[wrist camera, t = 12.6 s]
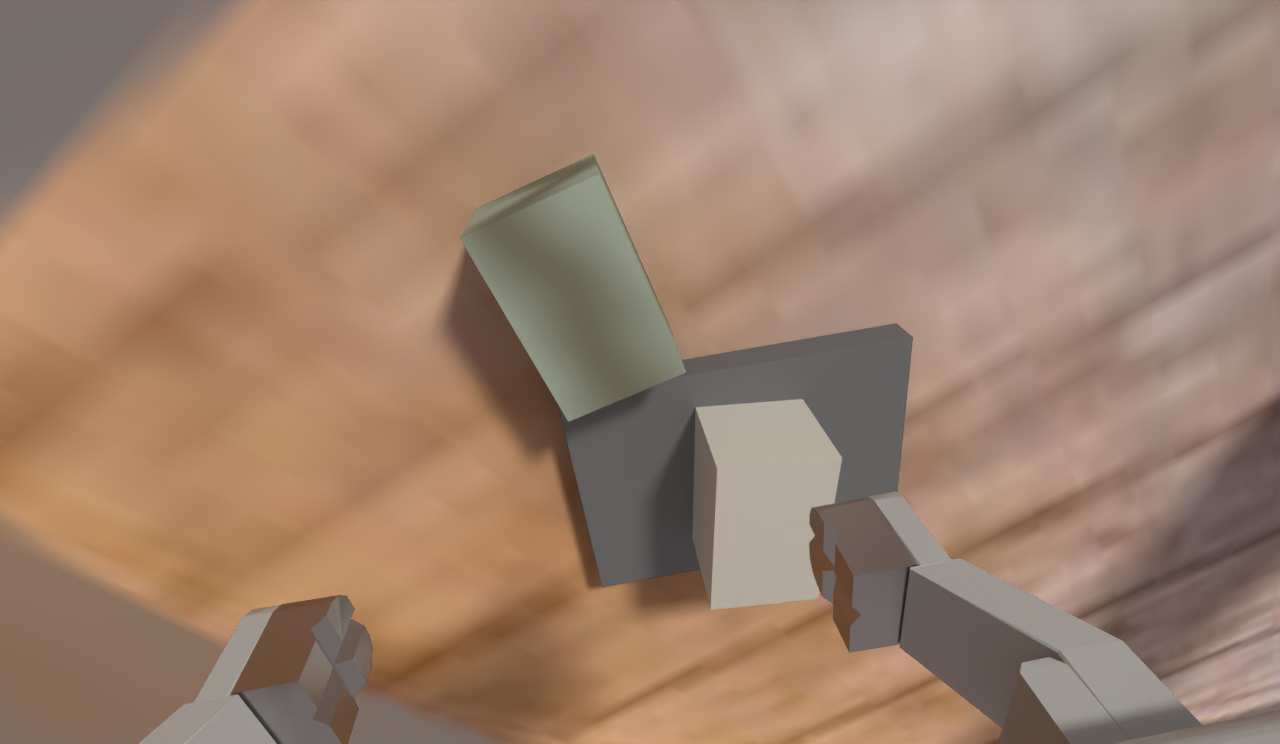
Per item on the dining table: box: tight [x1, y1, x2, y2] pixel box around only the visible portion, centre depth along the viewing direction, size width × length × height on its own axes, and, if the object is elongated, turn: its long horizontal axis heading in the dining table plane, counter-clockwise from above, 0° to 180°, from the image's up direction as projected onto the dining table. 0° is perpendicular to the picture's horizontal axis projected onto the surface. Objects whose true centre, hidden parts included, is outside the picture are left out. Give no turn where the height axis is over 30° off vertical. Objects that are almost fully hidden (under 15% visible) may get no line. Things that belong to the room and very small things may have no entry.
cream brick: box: [692, 399, 842, 610], centre depth 27 cm, size 5×8×4 cm, turn 2°
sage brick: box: [460, 154, 686, 422], centre depth 23 cm, size 5×8×4 cm, turn 23°
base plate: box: [558, 324, 913, 587], centre depth 29 cm, size 16×12×2 cm
